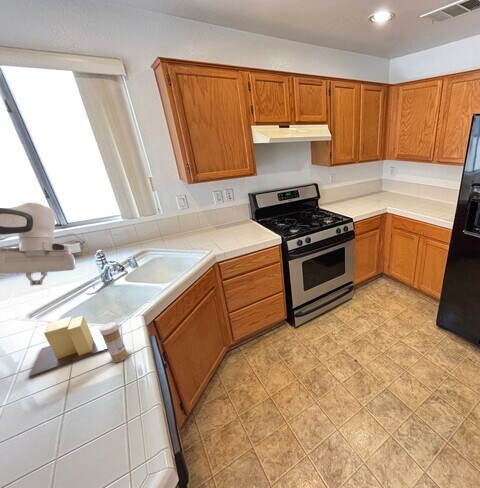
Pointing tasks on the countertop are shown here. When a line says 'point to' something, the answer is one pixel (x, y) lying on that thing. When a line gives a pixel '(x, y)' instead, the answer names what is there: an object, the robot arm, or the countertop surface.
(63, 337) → the butter block
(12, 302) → the countertop surface
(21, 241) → the robot arm
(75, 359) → the walnut board
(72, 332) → the butter slice
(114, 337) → the sprinkles bottle
